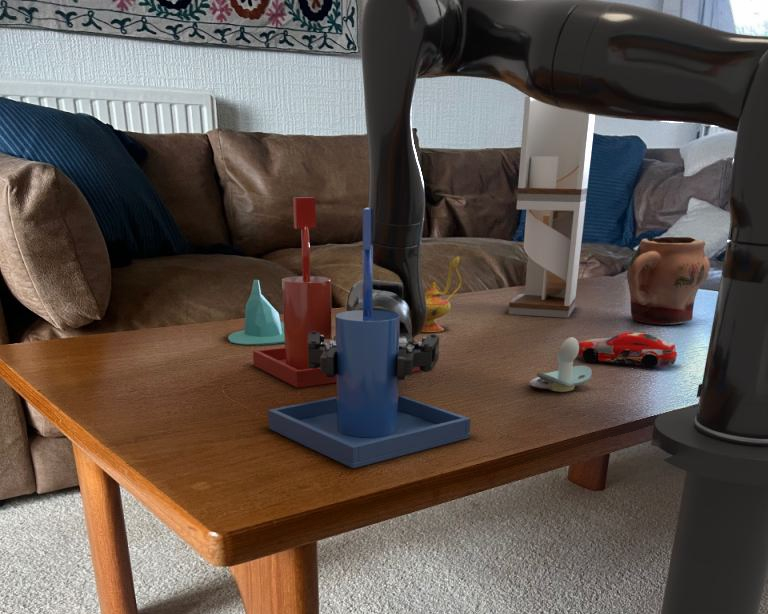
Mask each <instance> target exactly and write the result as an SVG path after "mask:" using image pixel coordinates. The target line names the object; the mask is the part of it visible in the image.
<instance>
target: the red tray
mask: <svg viewBox="0 0 768 614" xmlns="http://www.w3.org/2000/svg"><path fill="white" fill-rule="evenodd" d="M252 354H253V355H252V359H253V366H254V367H256V368H257V369H260V370H262V371H264V372H266V373H267V374H269V375H272V376H274V377H275V378H277V379H280V380H281V381H283V382H284V383H287V384H289V385H291V386H293V387H294V388H297V389H299V388H300V389H301V388H307V387H313V386H314V387H315V386H322V385H328V384H336V375H335V377H334V378H327V376H326V373H322V372H321V369H320V367H319V368H316V369H312V368H311V369H303V370H298V369H295V368H293V367H291V366H289V365H287V364H285V346H281V347H272V348H263V349H254V350H252ZM414 372H421V370H420V367H414V371H413V372H412V373H414Z"/></svg>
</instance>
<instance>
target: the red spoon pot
mask: <svg viewBox="0 0 768 614" xmlns="http://www.w3.org/2000/svg"><path fill="white" fill-rule="evenodd" d="M292 206H293V207H292V208H293V228H294V229H299V230H301V231H300V234H301V261H302V262H301V263H302V265H301V266H302V267H301V268H302V275H298V276H297V275H296V276H288V277H284V278H282V279H281V289H282V290H281V292H282V311H283V312H282V313H283V315H282V317H283V322H284V342H285V343H284V347H285V364H287V365H289V366H291V367H293V368H295V369H298V370H303V369H311V368H309V367H308V333H309V332H312V331H316V332H319V333H320V335H324V339H333V321H332V320H333V318H332V315H333V313H332V311H333V309H332V279H331V278H329V277H326V276H316V275H311V262H310V261H311V256H310V229H316V228H317V215H316V214H317V211H316V197H315V196H311V197H310V196H308V197H306V196H305V197H299V196H298V197H293V198H292Z"/></svg>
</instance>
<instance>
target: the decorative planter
mask: <svg viewBox="0 0 768 614" xmlns="http://www.w3.org/2000/svg"><path fill="white" fill-rule="evenodd" d="M705 247H706V241H705V240H702V239H697V238H695V237H689V236H664V237H651V238H650V237H649V238H643V239H641V241H640V242H639V244H638V247H637V249H636V251H635V252H634V254H633V256H632V257H631V259H630V261H629V264H628V267H627V272H626V280H627V284H628V291H629V296H630V301H629V302H630V315H631V318H632V320H633V321H634V322H639V323H644V324H652V325H678V324H685V323H688V322H690V321H692V320H693V317H694V316H693V315H694V306H695V301H696V296H697V293H698V292H699V289H700V288H701V286H702V285H703V284H704V282H705V281H706V280H707V279H708V277H709V272H710V269H711V263H710V260H709V259H708V257H707V255H706V253H705Z"/></svg>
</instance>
